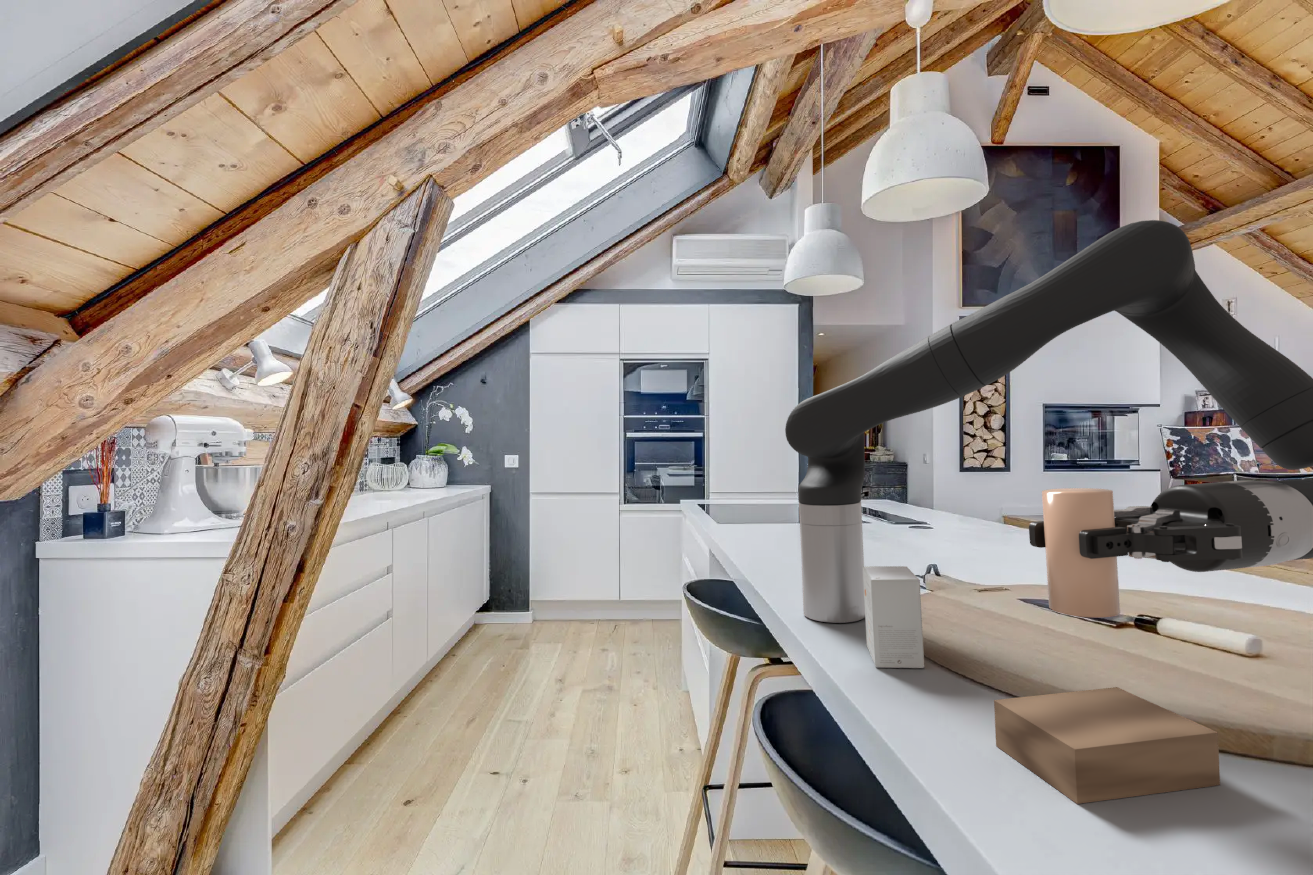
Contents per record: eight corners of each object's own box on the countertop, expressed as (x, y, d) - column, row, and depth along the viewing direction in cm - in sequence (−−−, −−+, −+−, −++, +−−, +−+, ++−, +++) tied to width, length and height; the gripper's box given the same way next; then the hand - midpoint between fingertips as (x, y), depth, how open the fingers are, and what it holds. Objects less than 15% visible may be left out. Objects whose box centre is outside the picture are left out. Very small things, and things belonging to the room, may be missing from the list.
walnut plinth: (996, 745, 56) (993, 699, 56) (1118, 731, 57) (1116, 686, 57) (1077, 803, 47) (1074, 749, 47) (1220, 784, 48) (1217, 732, 48)
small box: (925, 670, 74) (921, 579, 74) (874, 668, 75) (870, 579, 75) (911, 647, 82) (908, 565, 82) (866, 646, 83) (862, 565, 83)
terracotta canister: (1035, 604, 56) (1028, 490, 56) (1086, 599, 57) (1079, 487, 57) (1081, 619, 51) (1073, 495, 51) (1136, 613, 52) (1128, 490, 52)
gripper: (1152, 477, 63) (996, 489, 61) (1323, 486, 49) (1128, 502, 46) (1157, 553, 63) (1000, 568, 60) (1330, 584, 49) (1134, 605, 46)
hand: (1057, 539), depth 53 cm, fingers closed on terracotta canister, 5 cm apart
